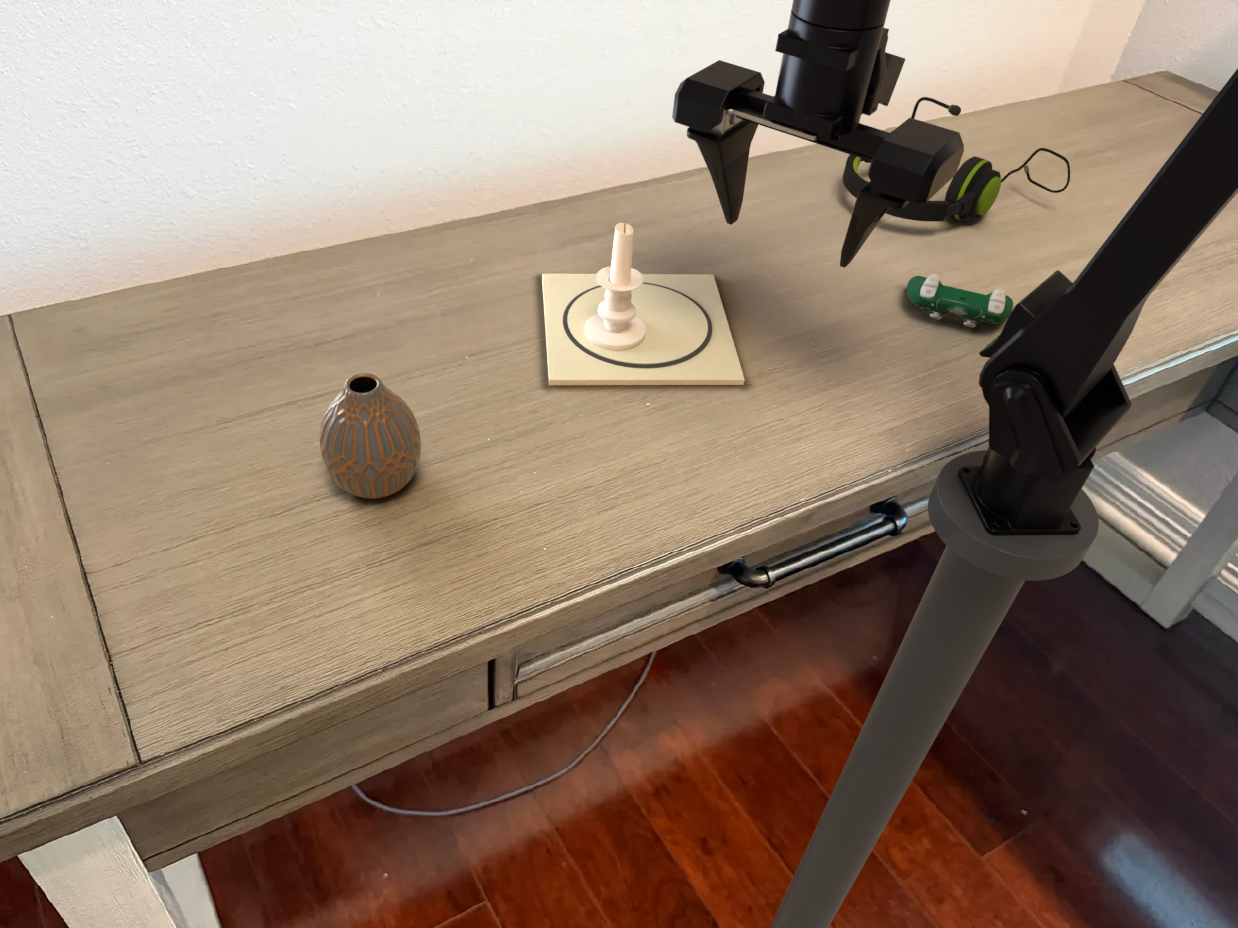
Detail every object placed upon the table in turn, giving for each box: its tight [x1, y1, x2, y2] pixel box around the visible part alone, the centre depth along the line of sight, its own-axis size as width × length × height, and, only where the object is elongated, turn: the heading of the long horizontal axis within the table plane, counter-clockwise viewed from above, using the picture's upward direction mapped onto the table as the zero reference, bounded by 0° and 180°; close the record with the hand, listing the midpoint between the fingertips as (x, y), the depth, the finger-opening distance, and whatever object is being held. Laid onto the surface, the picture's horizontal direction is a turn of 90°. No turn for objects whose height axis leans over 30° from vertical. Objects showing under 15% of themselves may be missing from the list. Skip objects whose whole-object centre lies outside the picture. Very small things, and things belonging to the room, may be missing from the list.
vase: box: [319, 372, 422, 500], centre depth 68 cm, size 7×7×9 cm
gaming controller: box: [906, 273, 1014, 328], centre depth 87 cm, size 9×4×6 cm
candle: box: [584, 220, 646, 350], centre depth 80 cm, size 5×5×10 cm
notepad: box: [541, 273, 746, 386], centre depth 85 cm, size 16×16×1 cm
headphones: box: [841, 96, 1071, 222], centre depth 100 cm, size 16×10×20 cm
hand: (787, 242), depth 71 cm, fingers open, 9 cm apart
